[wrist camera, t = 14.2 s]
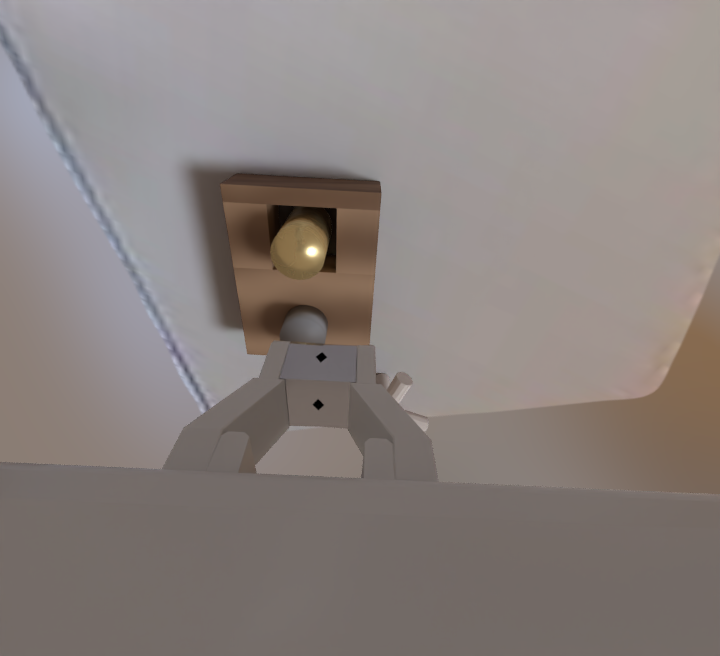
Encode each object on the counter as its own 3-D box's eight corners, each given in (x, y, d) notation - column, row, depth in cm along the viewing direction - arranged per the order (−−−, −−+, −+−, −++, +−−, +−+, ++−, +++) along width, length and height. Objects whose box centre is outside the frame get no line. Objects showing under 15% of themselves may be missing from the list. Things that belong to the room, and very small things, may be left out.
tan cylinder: (286, 201, 31) (267, 227, 25) (332, 203, 31) (324, 230, 25) (289, 245, 33) (272, 278, 27) (332, 247, 33) (324, 281, 27)
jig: (236, 173, 30) (207, 191, 24) (380, 181, 30) (382, 201, 24) (257, 331, 38) (240, 369, 33) (368, 337, 39) (368, 376, 33)
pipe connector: (400, 417, 46) (407, 490, 37) (327, 394, 43) (318, 466, 35) (440, 362, 40) (458, 432, 32) (359, 333, 38) (357, 400, 30)
